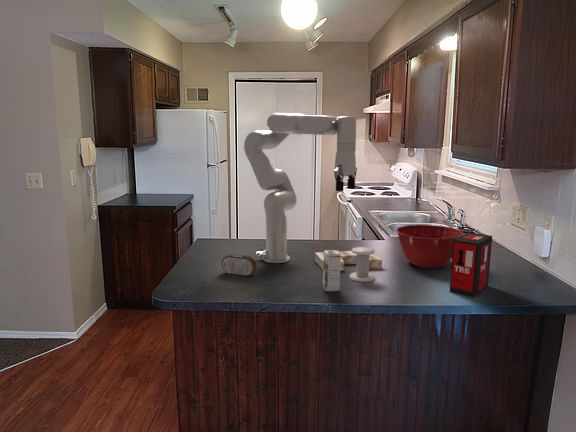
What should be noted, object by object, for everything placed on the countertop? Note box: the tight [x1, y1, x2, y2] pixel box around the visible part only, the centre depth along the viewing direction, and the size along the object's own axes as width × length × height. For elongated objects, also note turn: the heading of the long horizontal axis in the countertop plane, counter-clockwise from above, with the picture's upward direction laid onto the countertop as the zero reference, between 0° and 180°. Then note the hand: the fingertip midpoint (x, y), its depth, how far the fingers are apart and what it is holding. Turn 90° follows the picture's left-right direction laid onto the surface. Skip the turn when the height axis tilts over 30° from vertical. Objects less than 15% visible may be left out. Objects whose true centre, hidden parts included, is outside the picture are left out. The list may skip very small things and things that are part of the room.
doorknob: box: [349, 246, 376, 283], centre depth 183 cm, size 10×10×12 cm
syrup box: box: [322, 249, 341, 292], centre depth 170 cm, size 6×6×14 cm
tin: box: [221, 253, 258, 277], centre depth 187 cm, size 15×3×8 cm, turn 71°
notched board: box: [314, 250, 383, 272], centre depth 202 cm, size 26×16×4 cm, turn 101°
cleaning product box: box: [449, 232, 493, 298], centre depth 171 cm, size 16×9×20 cm, turn 140°
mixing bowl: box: [396, 224, 464, 269], centre depth 203 cm, size 28×28×15 cm
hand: (345, 189), depth 185 cm, fingers open, 9 cm apart
